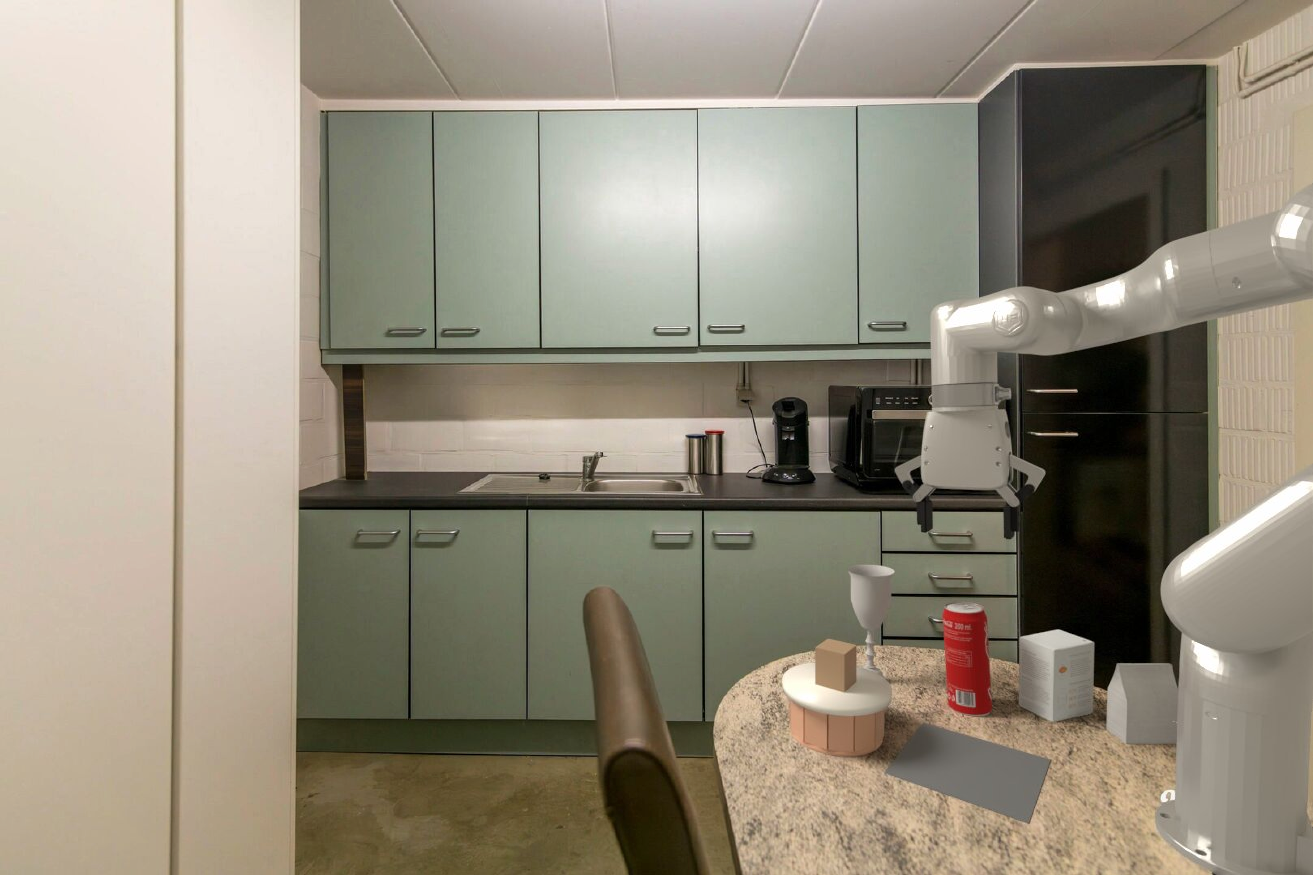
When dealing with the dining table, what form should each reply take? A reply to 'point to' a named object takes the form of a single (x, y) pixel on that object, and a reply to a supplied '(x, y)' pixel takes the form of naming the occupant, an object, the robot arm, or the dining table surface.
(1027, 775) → the mat
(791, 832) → the dining table surface
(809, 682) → the lid
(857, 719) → the bowl
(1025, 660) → the small box
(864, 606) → the chalice
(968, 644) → the beverage can
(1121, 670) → the white gabled block
